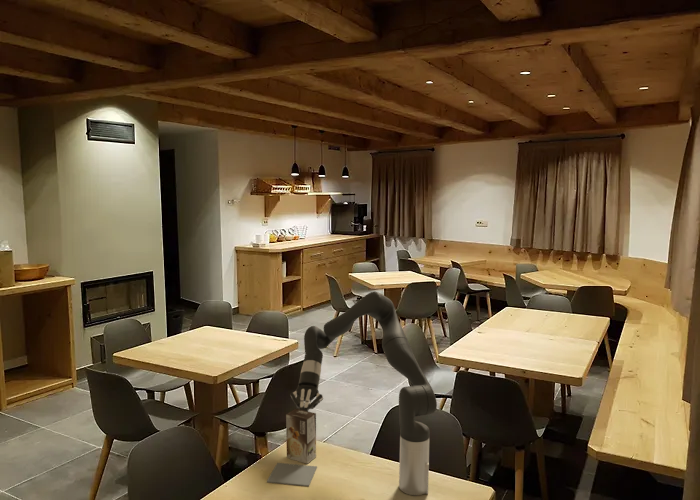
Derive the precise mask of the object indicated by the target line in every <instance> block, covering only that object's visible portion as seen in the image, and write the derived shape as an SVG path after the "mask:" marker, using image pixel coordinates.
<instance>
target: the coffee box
mask: <svg viewBox="0 0 700 500" xmlns="http://www.w3.org/2000/svg"><path fill="white" fill-rule="evenodd" d="M285 419H286V420H285V421H286V422H285V425H286V430H285V432H286V441H285V442H286V458H287V459H289V460H293V461H297V462H300V463H303V464H307V465H308V464H309V463H310V462H312V461H313V460H314V459H315V458H316V457H317V413H316V412H313V411H309V410H308V411H304V410H300V408H294V409H293V410H291V411H289V412H288V413H286V414H285Z"/></svg>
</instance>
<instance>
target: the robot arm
mask: <svg viewBox="0 0 700 500" xmlns="http://www.w3.org/2000/svg"><path fill="white" fill-rule="evenodd" d="M396 311H397V310H396V307H395V304H394V303H393V301H392V300H391V299H390V298H388V296H385V295H384V294H382V293H380V292H379V291H370V292H368V293H367V294H365V295H364V296H363V297H361V298H360V299H359V300H358V301H357V302H356V303H354V304H352V306H351V307H349V308H348V309H347V310H345V311H344V312H343V313H341V314H339V315H338V316H336V317H334V318H333V319H331V320H328V321H327V322H326V323H325V324H324V325H323V330H322V329H321V328H319V327H318V326H316V325H311V326H309V327H308V328H307V329H306V331H305V332H304V336H303V343H304V345H303V346H304V353H305V354H304V359H303V364H302V366H301V370H300V374H299V375H300V376H299V381H298V385H297V388H296V389H295V391H293V392H292V391H291V392H290V393H289V395H290V397H291V400H292V402H293V404H294V405H295V407H296V409H299V410H304V411H308V412H309V410H313V409H314V408H316V407H317V406H318V405H319V404H320V403H321V402H322V401H323V400H324V396H323V394H321V393H320V392H319V384H320V379H321V374H322V364H323V357H324V354H323V351H322V350H323V349H326V348H327V347H328V346H330V344H331V343H332V342H333V341H335V339H337V338H338V337H340V336H342V335H344V334H347V333H348V332H350V330H351V329H352V328H353V326H354V323H355V322H356V321H357V319H359V318H361V317H363V316H365V315H367V316H368V317H369V316H370V317H371V318H373V319H375V320H376V321H377V322H378V324H379V326H380V328H381V329H382V331H383V337H382V340H381V347H382V351H383V353H384V356H385V359H386V360H387V363H388V365H389V364H390V366H391V368H393V369H394V370H395V371H397V372H398V373H400V374H401V375H402V376H404V377H405V378H406V379H407V380H408V381H409V383H410V384H411V385H409V386H403V387H401V388H400V391H399V394H398V409H399V410H398V415H399V416H398V417H399V418H398V419H399V421H398V424H399V431H400V432H399V433H400V434H399V464H398V465H399V469H398V470H399V471H398V474H399V475H398V488H399V490H400V491H401V492H402V493H404V494H406V495H408V496H409V495H410V496H421V495H425V494H427V495H428V494H429V478H430V477H429V474H430V473H429V472H430V471H429V469H430V432H431V431H430V427H429V426H428V425H426V424H425V423H423V422H421V421H417V420H415V417H421V416H428V415H429V416H430V415H432V414H434V413H435V412H436V411H437V407H438V404H437V403H438V402H437V401H438V400H437V398H436V394H435V392H434V390H433V387H432V386H431V384H430V381H428V379H427V377H426V375H425V374H424V372H423V369H422V368H421V366H420V364H419V363H418V361H417V359H416V356H415V354H414V351H413V349H412V346H411V344H410V342H409V340H408V337H407V336H406V333H405V332H404V330H403V327H402V325H401V323H400V321H399V317H398V314H397V312H396ZM297 397H299V399H300V401H298V399H297Z"/></svg>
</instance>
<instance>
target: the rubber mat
mask: <svg viewBox="0 0 700 500" xmlns="http://www.w3.org/2000/svg"><path fill="white" fill-rule="evenodd" d="M317 469H318V466H317V465H308V464H307V465H304V464H297V463H295V464H294V463H284V462H277V463H276V464H275V466H274V468H273V470H272V471H271V473H270V475H269V476H268V478H267V480H266V483H269V484H281V485H289V486H299V487H300V486H301V487H310V485H311V482H312V480H313V478H314V476H315V472H316V471H317Z"/></svg>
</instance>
